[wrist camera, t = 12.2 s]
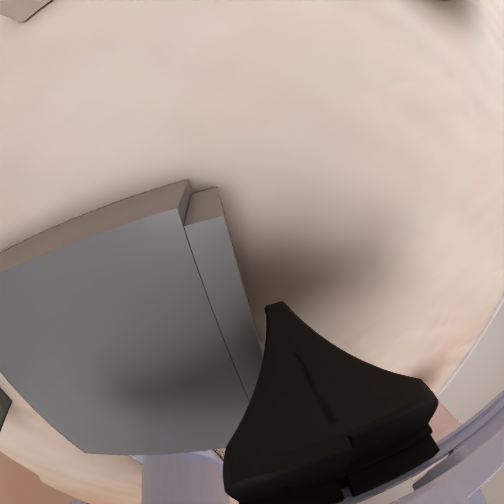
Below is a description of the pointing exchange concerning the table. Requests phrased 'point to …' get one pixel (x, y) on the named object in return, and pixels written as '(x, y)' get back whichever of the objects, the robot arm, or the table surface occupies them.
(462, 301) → the table surface
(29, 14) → the medicine bottle
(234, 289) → the tray
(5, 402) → the cassette player
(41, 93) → the table surface
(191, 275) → the disc
